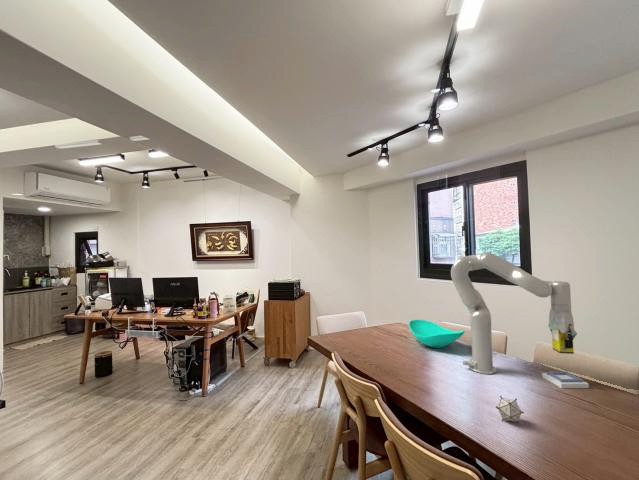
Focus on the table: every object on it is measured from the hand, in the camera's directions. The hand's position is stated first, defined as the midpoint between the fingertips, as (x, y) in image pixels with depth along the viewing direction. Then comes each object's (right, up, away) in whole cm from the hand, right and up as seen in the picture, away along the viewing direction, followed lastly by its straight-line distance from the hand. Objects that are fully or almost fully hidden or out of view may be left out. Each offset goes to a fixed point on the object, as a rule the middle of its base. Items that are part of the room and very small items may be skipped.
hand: (562, 345), depth 143 cm
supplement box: (0, -3, 0) cm, 3 cm away
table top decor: (-39, -20, +56) cm, 71 cm away
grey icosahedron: (-45, -17, -32) cm, 58 cm away
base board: (0, -17, -1) cm, 17 cm away
